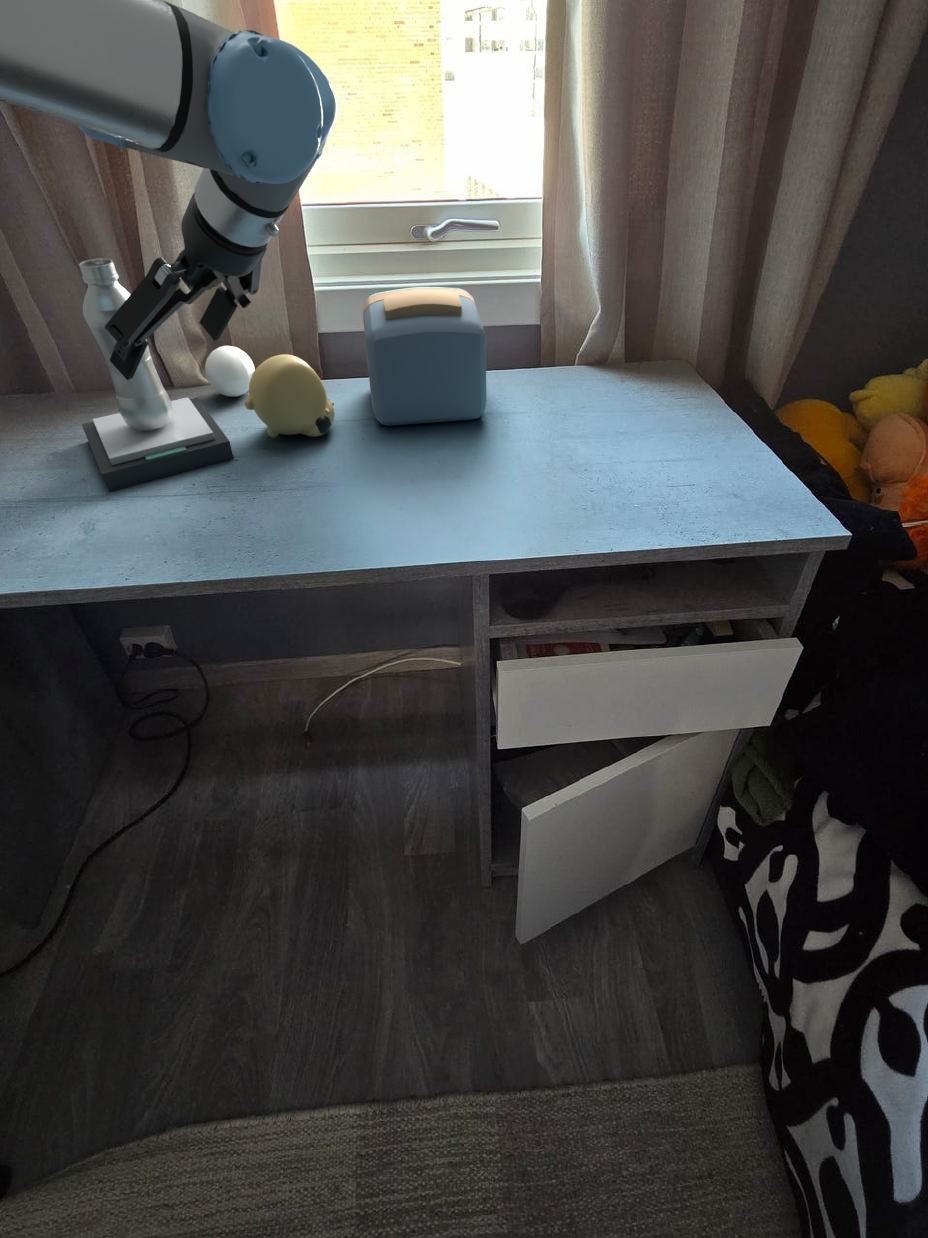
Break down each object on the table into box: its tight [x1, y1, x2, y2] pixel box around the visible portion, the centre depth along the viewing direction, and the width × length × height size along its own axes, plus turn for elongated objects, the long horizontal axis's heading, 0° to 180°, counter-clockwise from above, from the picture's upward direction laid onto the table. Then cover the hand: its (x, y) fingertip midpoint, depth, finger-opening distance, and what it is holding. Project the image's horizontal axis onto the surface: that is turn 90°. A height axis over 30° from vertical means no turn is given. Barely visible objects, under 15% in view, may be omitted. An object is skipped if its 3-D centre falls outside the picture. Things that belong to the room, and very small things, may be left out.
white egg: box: [204, 345, 257, 398], centre depth 106 cm, size 10×7×7 cm
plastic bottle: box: [78, 257, 173, 431], centre depth 85 cm, size 6×7×20 cm
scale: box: [81, 396, 235, 492], centre depth 93 cm, size 16×16×4 cm
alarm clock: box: [362, 286, 488, 427], centre depth 99 cm, size 16×16×16 cm
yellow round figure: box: [244, 353, 336, 438], centre depth 95 cm, size 10×12×11 cm
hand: (167, 349), depth 81 cm, fingers open, 13 cm apart
